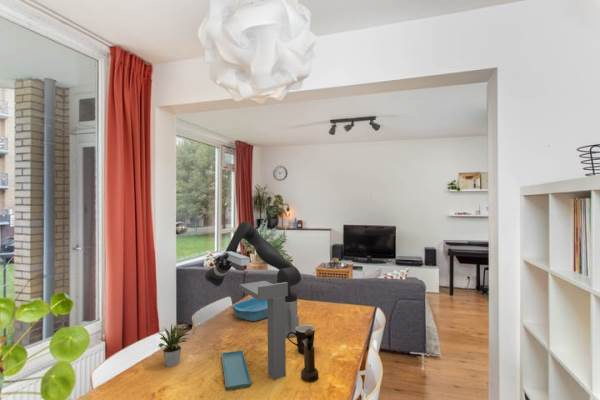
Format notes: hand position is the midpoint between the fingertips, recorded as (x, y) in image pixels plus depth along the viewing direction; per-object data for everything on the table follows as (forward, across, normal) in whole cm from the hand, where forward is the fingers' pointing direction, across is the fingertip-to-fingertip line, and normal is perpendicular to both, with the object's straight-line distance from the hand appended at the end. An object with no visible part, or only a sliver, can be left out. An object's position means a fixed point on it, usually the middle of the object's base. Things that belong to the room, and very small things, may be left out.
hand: (232, 254), depth 157 cm
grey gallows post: (+9, 0, +53) cm, 53 cm away
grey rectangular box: (+3, 0, +5) cm, 6 cm away
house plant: (-11, -31, +42) cm, 53 cm away
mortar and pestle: (+22, +12, +61) cm, 66 cm away
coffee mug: (+5, +22, +51) cm, 55 cm away
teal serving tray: (+5, -10, +51) cm, 52 cm away
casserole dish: (-45, +28, +23) cm, 57 cm away
